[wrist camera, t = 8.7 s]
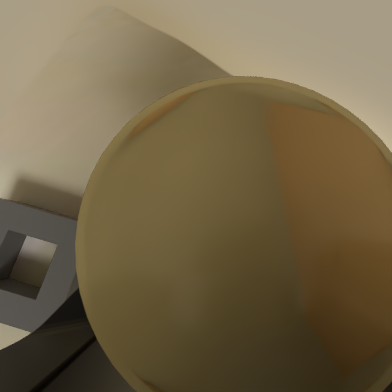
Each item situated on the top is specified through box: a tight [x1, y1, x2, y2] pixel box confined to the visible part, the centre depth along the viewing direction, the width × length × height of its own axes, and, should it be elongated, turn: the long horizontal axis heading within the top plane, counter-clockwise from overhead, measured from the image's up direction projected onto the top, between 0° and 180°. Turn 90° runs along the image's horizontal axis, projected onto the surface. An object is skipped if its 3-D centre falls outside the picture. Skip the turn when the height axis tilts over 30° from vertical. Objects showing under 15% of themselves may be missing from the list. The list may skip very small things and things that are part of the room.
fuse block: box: [0, 198, 79, 332], centre depth 20 cm, size 10×10×2 cm
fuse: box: [75, 76, 392, 392], centre depth 9 cm, size 4×4×14 cm
